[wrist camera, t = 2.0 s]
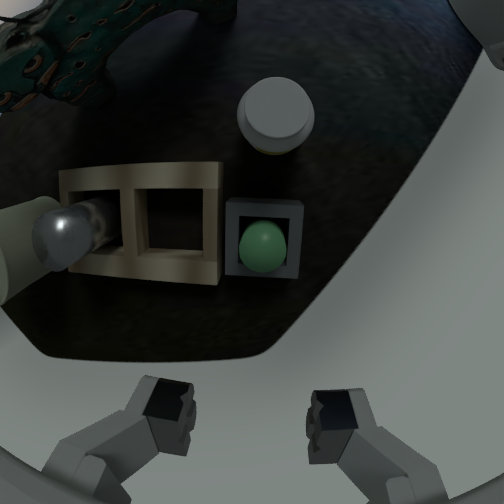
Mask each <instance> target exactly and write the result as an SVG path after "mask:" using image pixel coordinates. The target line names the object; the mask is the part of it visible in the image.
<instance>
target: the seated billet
mask: <svg viewBox="0 0 504 504" xmlns="http://www.w3.org/2000/svg"><path fill="white" fill-rule="evenodd" d="M121 234H122V223H121V205H120V199H118V198H117V197H115V196H113V195H103V196H100V197H96V198H93V199H89V200H86V201H82V202H79V203H75V204H72V205H69V206H66V207H63V208H59V209H56V210H53V211H50V212H47V213H44V214H42V215H40V216H39V217H38V218H37V219H36V220H35V222H34V225H33V228H32V244H33V248H34V251H35V253H36V256H37V257H38V259H39V260H40V262H41V263H42V264H43V265H44V266H45V267H46V268H48V269H49V270H52V271H57V272H58V271H62V270H64V269H65V268H67V267H69V266H70V265H72V264H73V263H75V262H77V261H78V260H80V259H81V258H83V257H85V256H86V255H88V254H90V253H91V252H93V251H95V250H96V249H98V248H100V247H101V246H103V245H105V244H106V243H108V242H110V241H112V240H113V239H115V238H117V237H118V236H120V235H121Z"/></svg>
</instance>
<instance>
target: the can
mask: <svg viewBox="0 0 504 504" xmlns="http://www.w3.org/2000/svg"><path fill="white" fill-rule="evenodd" d="M59 208H61V206H60V203H59V202H58V201H56V200H55V199H53V198H51V197H47V196H42V197H39V198H36V199H35V200H32V201H29V202H25V203H22V204H19V205H15V206H12V207H9V208H5V209H2V210H0V306H1V305H3V304H4V303H5V302H6V301H7V300H8V299H10V298H11V297H13V296H14V295H15V294H17V293H18V292H20V291H21V290H23V289H24V288H25V287H27V286H28V285H30V284H31V283H33V282H35V281H36V280H38V279H39V278H41V277H42V276H44V275H46V274H47V273H49V272H51V271H52V270H49V269H48V268H46V267H45V266H44V265H43V264H42V263H41V262H40V260H39V259H38V257H37V256H36V253H35V251H34V248H33V244H32V228H33V225H34V222H35V220H36V219H37V218H38V217H39V216H40V215H42V214H44V213H47V212H50V211H53V210H56V209H59Z"/></svg>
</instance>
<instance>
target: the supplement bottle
mask: <svg viewBox="0 0 504 504" xmlns="http://www.w3.org/2000/svg"><path fill="white" fill-rule="evenodd" d="M237 120H238V125H239V128H240V130H241V132H242V134H243V135H244V137H245V138H246V139H247V140H248V142H249V143H250V144H251V145H252V146H253V147H254V148H255V149H256V150H258V151H260V152H262V153H264V154H268V155H281V154H285V153H287V152H289V151H291V150H293V149H294V148H296V147H297V146H299V145H300V144H301V143H302V142H303V141H304V140H305V139H306V138H307V137H308V135H309V134H310V132H311V130H312V128H313V124H314V109H313V106H312V103H311V101H310V99H309V97H308V96H307V94H306V92H305V91H304V90H303V89H302V87H300V86H299V85H298V84H297V83H295V82H294V81H292V80H289V79H287V78H282V77H271V78H266V79H263V80H261V81H259V82H258V83H256V84H255V85H254V86H252V87H251V88H250V89H249V90H248V91H247V92H246V93H245V94H244V95H243V97H242V98H241V100H240V103H239V105H238V110H237Z"/></svg>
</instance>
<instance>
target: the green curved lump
mask: <svg viewBox="0 0 504 504" xmlns="http://www.w3.org/2000/svg"><path fill="white" fill-rule="evenodd" d="M177 10H190V11H194V12H197V13H199V14H201V15H202V16H203V18H204V19H205V20H206V21H207V22H208V23H209V24H211V25H214V26H217V25H219V24H222V23H225V22H227V21H228V20H230V19H232V18H233V17H234V16H235V15H236V14H237V0H43V2H42V3H41V4H40V5H39V6H37V7H36V8H34V9H32V10H29V11H26V12H23V13H21V14H18V15H16V16H14V17H13V18H7V17H1V16H0V20H1V21H4V23H2V24H1V25H0V113H4V112H13V111H17V110H19V109H21V108H23V107H25V106H26V105H27V104H29V103H30V102H31V101H32V100H34V99H35V98H36V97H37V96H38V95H39V94H40V93H42V94H44V95H45V96H47V97H48V98H50V99H56V100H59V101H65V102H67V103H68V104H70V105H72V106H86V107H90V108H95V109H98V108H100V107H101V106H102V105H103V104H104V103H106V102H107V101H108V100H109V99H110V98H111V97H113V96H114V95H115V93H116V85H115V82H114V80H113V78H112V77H111V75H110V74H109V71H108V69H107V68H105V67H106V62H107V59H108V58H109V56H110V55H111V54H112V53H113V52H114V50H115V49H116V48H117V47H118V46H119V45H120V44H121V43H122V42H123V41H124V40H125V39H126V38H127V37H129V36H130V35H131V34H132V33H134V32H135V31H137V30H138V29H140V28H141V27H143V26H144V25H146V24H147V23H149V22H150V21H152V20H154V19H156V18H158V17H161V16H163V15H166V14H168V13H171V12H174V11H177Z"/></svg>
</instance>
